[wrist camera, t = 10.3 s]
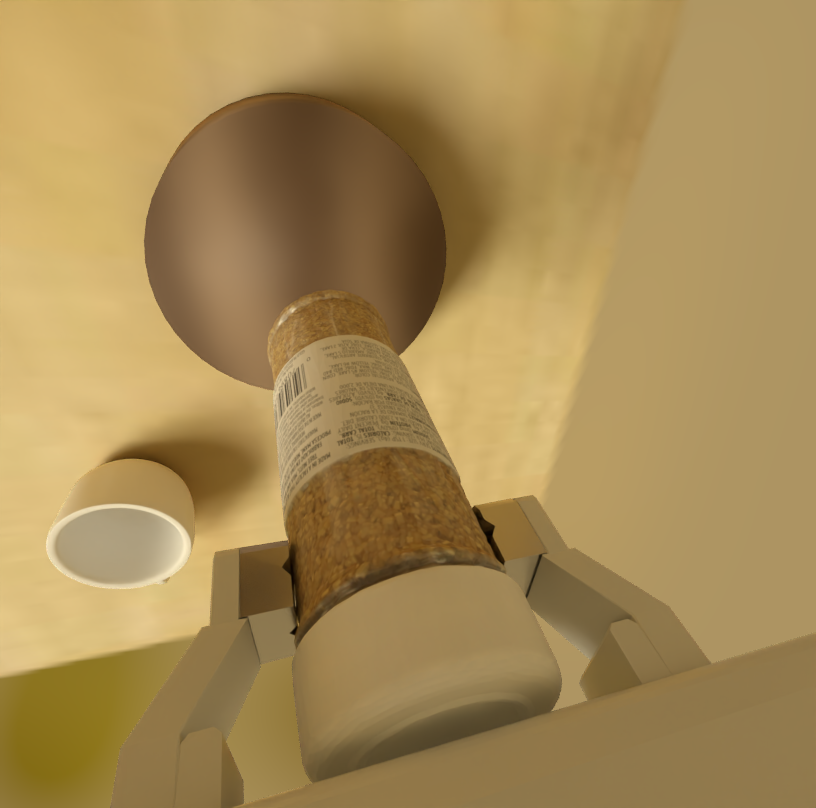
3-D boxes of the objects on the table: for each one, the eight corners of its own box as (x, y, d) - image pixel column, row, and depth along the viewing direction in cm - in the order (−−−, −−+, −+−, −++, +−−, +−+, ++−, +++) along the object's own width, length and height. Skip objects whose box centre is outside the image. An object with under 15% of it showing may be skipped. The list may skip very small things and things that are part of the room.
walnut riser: (190, 366, 29) (184, 406, 26) (118, 87, 21) (97, 97, 18) (415, 345, 32) (434, 378, 29) (433, 97, 24) (461, 108, 21)
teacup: (44, 458, 30) (13, 526, 26) (172, 428, 31) (163, 488, 27) (118, 552, 36) (103, 619, 32) (223, 524, 38) (221, 585, 34)
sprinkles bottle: (338, 409, 20) (441, 803, 10) (239, 356, 18) (240, 816, 7) (412, 327, 19) (619, 689, 9) (316, 257, 16) (449, 655, 6)
